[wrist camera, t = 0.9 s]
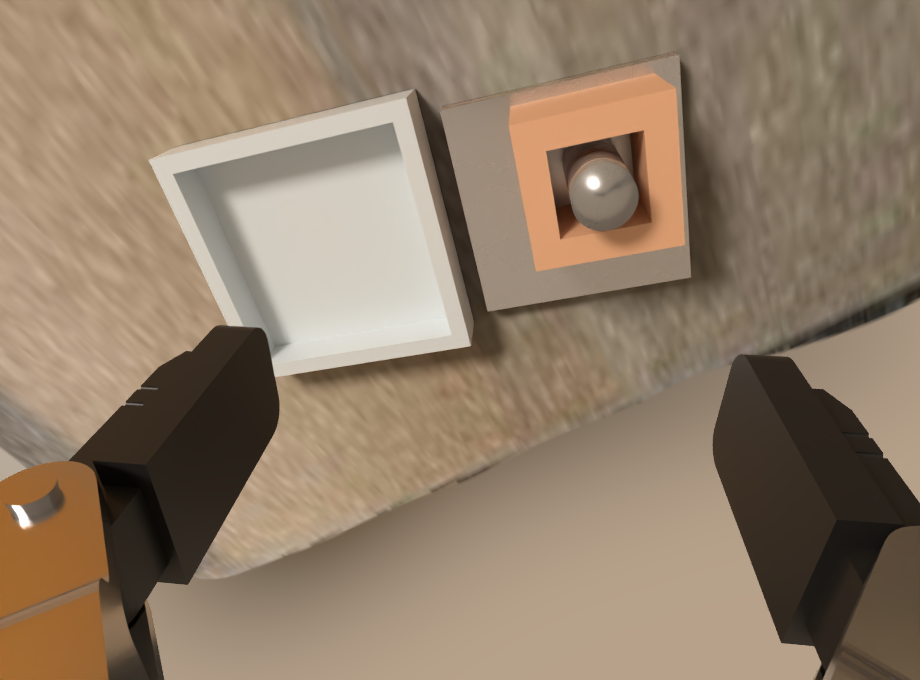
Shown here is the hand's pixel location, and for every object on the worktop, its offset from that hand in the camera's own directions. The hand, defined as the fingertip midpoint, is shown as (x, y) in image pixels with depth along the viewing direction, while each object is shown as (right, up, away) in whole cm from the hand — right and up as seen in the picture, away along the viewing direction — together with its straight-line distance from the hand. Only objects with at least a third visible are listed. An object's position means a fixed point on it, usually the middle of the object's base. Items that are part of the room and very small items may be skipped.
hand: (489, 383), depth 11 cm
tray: (-7, +6, +20) cm, 22 cm away
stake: (+5, +8, +18) cm, 20 cm away
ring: (+5, +9, +16) cm, 19 cm away
